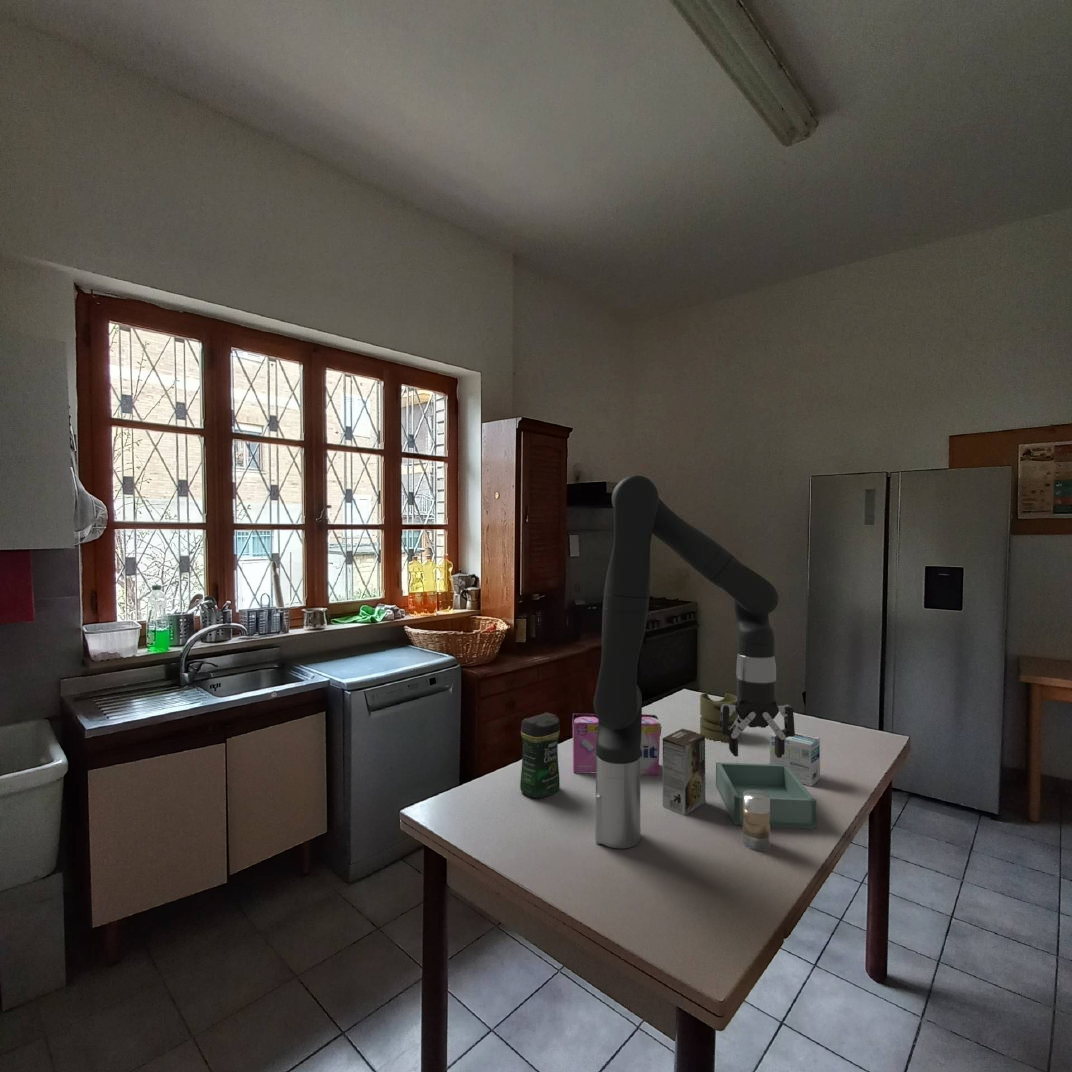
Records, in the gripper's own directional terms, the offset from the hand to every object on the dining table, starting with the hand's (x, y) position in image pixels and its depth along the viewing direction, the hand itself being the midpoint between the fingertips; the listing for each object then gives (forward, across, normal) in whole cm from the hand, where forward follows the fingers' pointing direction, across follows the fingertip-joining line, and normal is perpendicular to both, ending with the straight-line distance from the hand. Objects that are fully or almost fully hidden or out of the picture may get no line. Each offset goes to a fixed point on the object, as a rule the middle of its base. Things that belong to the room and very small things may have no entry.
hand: (756, 755), depth 119 cm
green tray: (+18, +6, +17) cm, 26 cm away
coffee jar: (+18, -46, +20) cm, 53 cm away
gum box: (+18, -28, +35) cm, 48 cm away
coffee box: (+18, -12, +16) cm, 27 cm away
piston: (+18, +6, +63) cm, 66 cm away
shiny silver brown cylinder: (+18, 0, 0) cm, 18 cm away
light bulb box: (+19, +19, +34) cm, 43 cm away
